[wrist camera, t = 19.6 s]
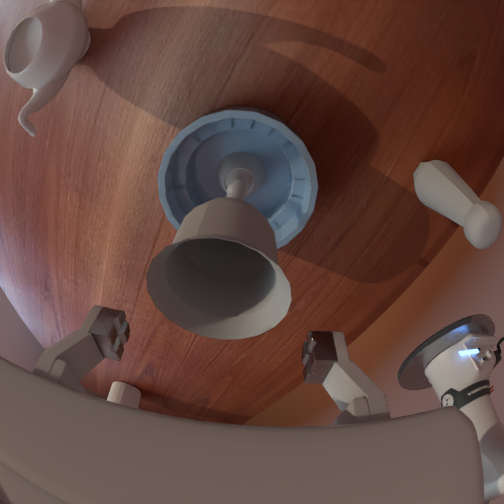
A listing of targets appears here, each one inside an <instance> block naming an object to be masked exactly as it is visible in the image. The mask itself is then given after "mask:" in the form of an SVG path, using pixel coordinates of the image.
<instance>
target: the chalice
mask: <svg viewBox="0 0 504 504" xmlns="http://www.w3.org/2000/svg"><path fill="white" fill-rule="evenodd" d="M216 176H217V181H218V183H219V185H220V186H221V188H222V189H223V190H225V191H226V192H227V196H226V197H221V198H215V199H213V200H210V201H208V202H206V203H204V204H201V205H199V206H197V207H195V208H194V209H193V210H192V211H191V212H190V213H189V214H187V215H186V216H185V218H184V220H183V222H182V224H181V226H180V228H179V230H178V232H177V234H176V236H175V238H174V240H173V242H172V245H169V246H167V247H165V248H164V249H163V250H162V251H161V252H160V253H159V254H158V255H157V256H156V257H154V258H153V259H152V261H151V264H150V267H149V269H148V272H147V274H146V278H147V288H148V293H149V295H150V296H151V298H152V300H153V302H154V304H155V306H156V307H157V308H158V309H159V310H160V311H161V312H162V313H163V314H164V315H165V316H166V317H167V318H168V319H169V320H170V321H172V322H174V323H175V324H177V325H178V326H180V327H182V328H183V329H185V330H188V331H190V332H193V333H196V334H199V335H201V336H206V337H211V338H217V339H243V338H247V337H252V336H256V335H260V334H262V333H264V332H265V331H267V330H269V329H271V328H273V327H275V326H276V325H277V324H278V323H279V322H280V321H281V320H282V319H283V318H284V317H285V316H286V314H287V311H288V308H289V306H290V303H291V292H290V284H289V282H288V280H287V279H286V277H285V275H284V274H283V272H282V270H281V268H280V267H279V266H278V257H277V245H276V238H275V232H274V231H273V229H272V227H271V225H270V224H269V222H268V220H267V219H266V218H265V217H264V216H263V215H262V214H261V213H260V211H258V210H257V209H256V208H255V207H254V206H253V205H252V204H250V203H248V202H246V201H245V197H246V196H248V195H251V194H253V193H255V192H256V191H257V190H259V189H260V187H261V186H262V184H263V182H264V178H265V172H264V167H263V165H262V163H261V161H260V160H259V159H258V158H257V157H256V156H254V155H252V154H250V153H247V152H241V151H240V152H233V153H231V154H228V155H226V156H225V157H224V158H223V159H222V160H221V161H220V163H219V165H218V166H217V172H216Z"/></svg>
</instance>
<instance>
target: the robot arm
mask: <svg viewBox="0 0 504 504" xmlns="http://www.w3.org/2000/svg"><path fill="white" fill-rule="evenodd" d="M125 318H126V315H125V312H124V311H121V310H116V309H111V308H107V307H102V306H97V305H95V306H93V307H92V309H91V311H90V312H89V314H88V316H87V318H86V320H85V321H84V323H83V325H82V327H81V329H80V330H76V331H75V332H73V333H71V334H70V335H68V336H67V337H65V338H64V339H62V340H61V341H59V342H58V343H56V344H55V345H53V346H52V347H50V348H49V349H47V350H46V351H44V352H43V353H42V355H41V357H40V359H39V361H38V362H37V364H36V366H35V368H34V371H33V372H30V371H28V370H26V369H24V368H22V367H20V366H18V365H16V364H14V363H12V362H10V361H8V360H6V359H4V358H2V357H1V356H0V504H489V501H491V500H493V499H495V498H498V497H500V496H502V495H504V426H503V425H502V423H501V422H500V420H499V418H498V415H497V413H496V411H495V408H494V406H493V404H492V401H491V398H490V393H491V392H492V391H493V390H494V389H493V390H492V391H491V392H490V390H491V389H492V388H493V386H492V387H491V388H490V383H489V378H490V375H491V372H492V370H493V369H494V367H495V366H496V365H497V364H498V362H499V361H500V360H501V356H500V354H501V349H500V346H499V345H500V343H501V342H502V341H503V340H504V337H503V338H501V339H500V340H499V342H498V344H497V349H498V350H496V351H493V349H492V348H493V346H494V345H495V343H496V340H497V338H496V336H490V335H482V334H473V333H471V334H469V335H468V336H466V337H465V338H464V339H462V340H461V341H460V342H458V343H456V344H455V345H453V346H451V347H449V348H448V349H446V350H445V351H443V352H442V353H440V354H439V355H438V356H437V357H435V358H434V359H433V360H432V361H431V362H430V363H429V365H428V366H427V367H426V369H425V375H426V377H427V378H428V380H429V382H430V384H432V386H433V388H434V390H435V392H436V394H437V396H438V398H439V401H440V402H441V405H442V407H441V408H438V409H434V410H430V411H426V412H421V413H417V414H412V415H407V416H402V417H396V418H391V417H390V413H389V408H388V404H387V400H386V395H385V394H384V393H383V392H382V391H381V390H380V388H378V387H377V385H376V384H374V382H373V381H372V380H371V379H370V378H369V377H368V376H367V375H366V374H365V373H364V372H363V371H362V370H361V369H360V368H359V367H358V366H357V365H356V364H355V363H354V362H352V361H350V359H349V355H348V351H347V346H346V342H345V338H344V334H343V332H333V331H309V332H308V334H307V341H305V342H304V345H303V348H302V362H303V364H304V365H305V367H304V369H303V376H304V383H323V384H322V385H323V386H324V387H325V389H326V390H327V392H328V393H329V394H330V396H331V397H332V398H333V400H334V401H335V403H336V404H337V405H338V407H339V408H340V409H341V411H342V413H341V414H340V415H339V416H338V417H337V419H336V420H335V421H334V425H330V426H309V427H270V426H248V425H235V424H224V423H215V422H206V421H199V420H192V419H186V418H180V417H174V416H169V415H163V414H159V413H154V412H149V411H145V410H140V409H136V408H132V407H128V406H125V405H121V404H117V403H114V402H110V401H107V400H104V399H100V398H97V397H94V396H91V395H88V394H85V388H84V386H83V385H82V384H81V383H80V380H81V379H82V378H83V377H84V376H85V375H86V374H87V373H89V372H90V371H91V370H92V369H93V368H94V367H95V366H96V365H97V364H99V363H100V362H101V361H102V360H103V359H104V358H108V359H113V360H117V361H120V359H121V356H122V354H123V351H124V348H123V345H124V344H125V343H127V341H128V338H129V333H130V328H129V324H128V322H127V321H126V320H125Z"/></svg>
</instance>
